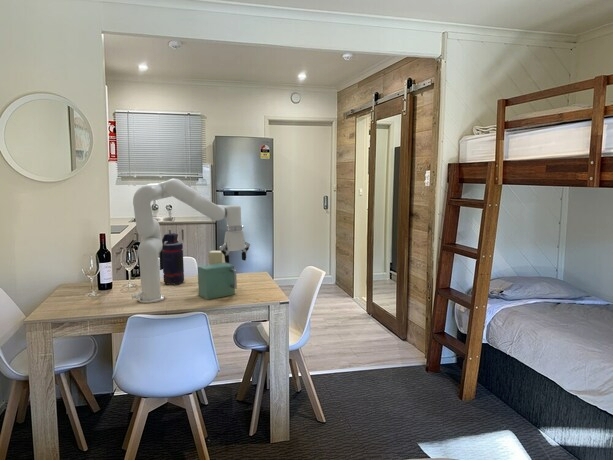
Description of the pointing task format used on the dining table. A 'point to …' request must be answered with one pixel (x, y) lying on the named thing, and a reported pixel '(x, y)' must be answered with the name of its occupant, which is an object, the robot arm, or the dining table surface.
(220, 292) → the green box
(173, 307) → the dining table surface
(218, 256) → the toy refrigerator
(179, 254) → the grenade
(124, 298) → the dining table surface
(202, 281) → the cooler
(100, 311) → the dining table surface
